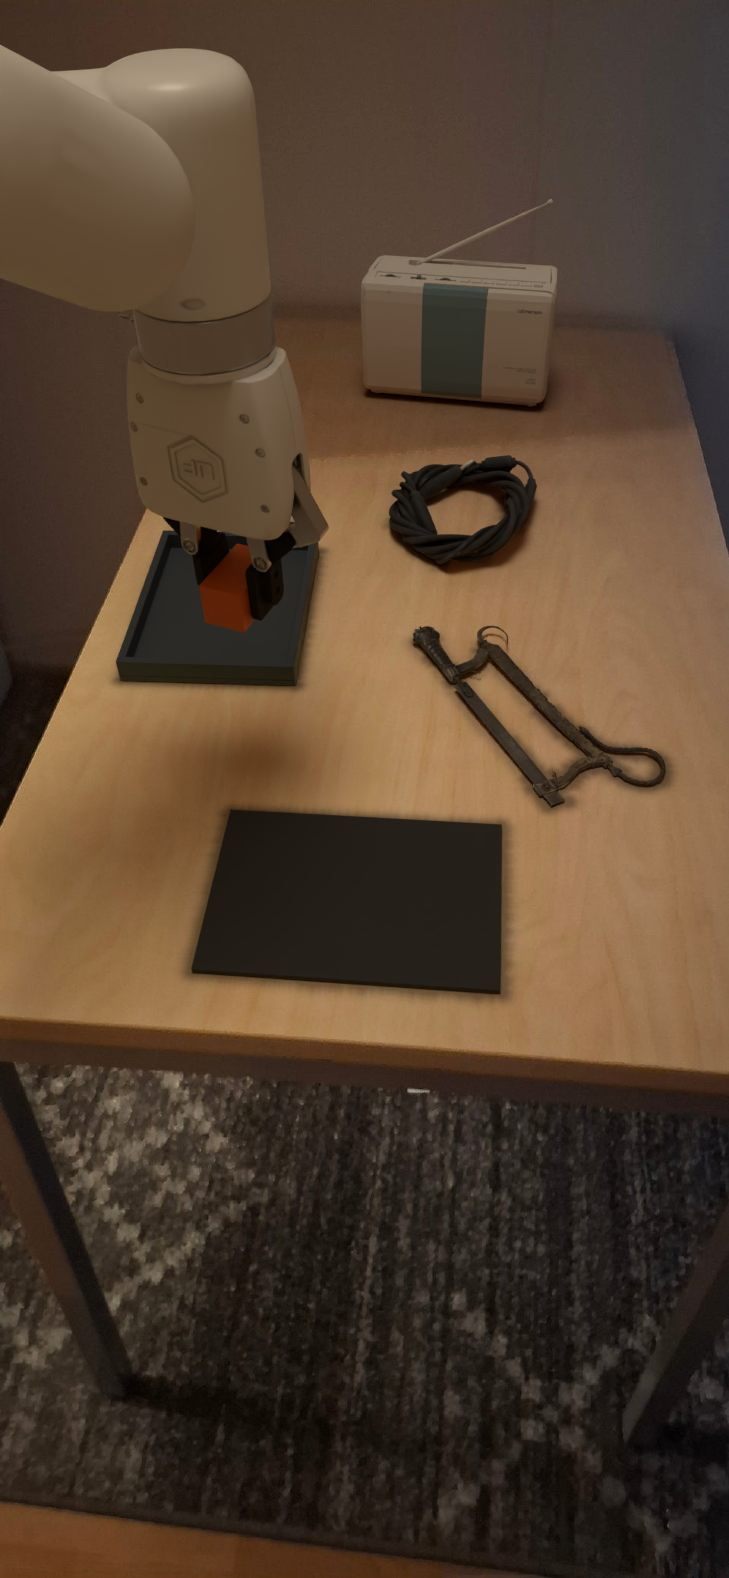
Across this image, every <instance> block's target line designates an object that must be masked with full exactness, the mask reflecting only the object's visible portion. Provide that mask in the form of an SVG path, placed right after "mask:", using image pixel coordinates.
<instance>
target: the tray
mask: <svg viewBox="0 0 729 1578" xmlns="http://www.w3.org/2000/svg"><path fill="white" fill-rule="evenodd" d="M217 532H221V533H225V536H226V538H227V540H228V547H229V552H230V551H231V550H232V548H233V547H234V546H235V545H236V544H241V545H245V546H248V543H247V539H246V537H243V536H239V535H234V534H230V533H226V532H222V531H217ZM319 545H320V544H319V542H317V543H314V544H310V545H307V546H303V547H300V548H299V547H297V548H293V549H292V550H291V551H290V552H288V553H287V554H286V555H285V556H283V557H282V558H281V563H282V574H283V584H284V593H283V597H282V599H281V600H280V602H279V603H278V604H277V605H274V606H273V607H272V609H271V610H270V611H269V612H268V614H267V615H266V616H265V617H264V618H263V620H262V621H260V620H256V619H255V620H254V621H253V622H252V624H251V625H250V626H249V627H248V629H247V630H246V631H245V632H240V631H236V630H232V629H229V628H225V627H221V626H217V625H214V624H210V623H206V622H205V618H204V612H203V606H202V601H201V595H200V590H199V585H198V584H197V581H196V575H195V569H194V563H193V557H192V554H189V553H187V552H186V551H185V550H184V549H183V547H182V544H181V537H180V536H179V535H178V534H177V533H176V532H175V531H174V530H170V529H169V530H168V529H167V530H164V529H163V530H162V532H161V535H160V538H159V540H158V543H157V546H156V548H155V552H154V554H153V557H152V560H151V563H150V566H149V568H148V571H147V574H146V576H145V579H144V582H143V584H142V587H141V590H140V594H139V596H138V598H137V602H136V603H135V607H134V610H133V613H132V616H131V618H130V621H129V624H128V626H127V629H126V632H125V635H124V638H123V640H122V643H121V646H120V649H119V652H118V654H117V656H116V660H115V664H116V669H117V672H118V676H119V679H120V681H121V682H122V681H123V682H127V681H128V682H153V683H156V682H158V683H159V682H160V683H191V684H225V685H227V684H229V685H254V686H255V685H257V686H258V685H260V686H293V687H294V686H296V685H297V679H298V674H299V669H300V663H301V657H302V651H303V644H304V639H305V633H306V628H307V622H308V617H309V610H310V606H311V600H312V593H313V588H314V582H315V576H316V571H317V566H318V561H319V555H320V546H319Z"/></svg>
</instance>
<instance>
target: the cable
mask: <svg viewBox="0 0 729 1578" xmlns="http://www.w3.org/2000/svg"><path fill="white" fill-rule="evenodd" d="M517 466H520V467H522V468H523V469H524V470H525V472H526V474H527V477H528V479H527V480H526V484H525V485H524V483H523V481H522V480H521V478H520V477H518V476H517V475H515V474H514V473H512V472H511V471H513V469H514V468H516V467H517ZM400 476H401V477H402V478H403V479H404V481H400V482H399V484H398V485H399V488H400V489H393V490H392V491H391V496H392V497H394V498H395V499H397V500H395V501H394V502H393V503H392V504H391V505H390V506H389V509H388V515H389V520H388V524H389V526H390V528H391V529H392V530H393V531H395V532H397V533H399V534H401V538H402V541H403V542H405V543H407V544H410V545H411V547H412V548H413V549H414V550H415V551H417V552H419V553H422V554H423V555H424V556H426V557H427V558H429V559H433V560H434V561H435V563H436V564H438V565H443V564H445V563H447V562H449V561H450V560H452V561H455V562H461V563H475V562H480V561H483V560H486V559H488V558H490V557H492V556H494V555H495V554H497V553H498V552H500V551H502V549H503V548H505V547H506V546H507V545H508V544H509V543H510V541H511V540H512V539H513V538H514V536H515V535H516V534H517V533H518V532H519V530H520V529H522V528H523V527H524V525H525V523H526V522H527V520H528V518H529V515H530V511H531V509H532V505H533V501H534V499H535V495H536V492H537V488H538V485H537V482H536V479H535V478H534V475H533V472H532V471H531V468H530V467H529V466H528V465H527V464H526V463H525V462H523V461H521V460H517V459H516V457H512V455H510V454H507V455H497V456H489V457H486V458H485V459H484V460H481V461H480V462H477V461H476V459H474V458H472V459H469V460H468V461H466V462H465V463H464V464H459V463H451V464H450V463H449V464H442V463H441V464H439V463H432V464H427V465H424V466H423V467H421V468H420V469H418V470H415V471H412V472H411V473H408V472H407V471H404V470H403V471H402V472H401V474H400ZM469 483H477V484H479V485H481V486H484V487H488V488H499V489H500V490H502V491H503V492H504V505H503V507H504V512H505V516H504V517H502V519H500V520H499V521H498V522H497V523H496V524H491V525H486V526H485V527H482V528H480V529H478V530H477V531H476V532H474V533H473V534H472V535H470V534H458V533H457V534H456V533H440V534H439V533H438V530H437V528H436V524H435V523H434V520H433V518H432V515H431V513H430V511H429V508H428V505H427V502H426V500H428V499H430V498H432V497H435V496H436V495H439V494H440V493H441V492H442V491H443V490H444V489H446V488H448V487H450V486H459V485H464V484H469Z"/></svg>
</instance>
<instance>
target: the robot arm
mask: <svg viewBox="0 0 729 1578" xmlns="http://www.w3.org/2000/svg"><path fill="white" fill-rule="evenodd" d="M255 100H256V99H255V92H254V89H253V85H252V83H251V80H250V78H249V76H248V73H247V71H246V70H245V68H244V67H243V66H242V65H241V64H240V63H239V62H237V60H236V59H234V58H232V57H231V56H230V55H229V56H228V55H226V54H223V53H221V52H217V51H214V50H208V49H203V48H190V47H189V48H188V47H185V48H183V47H182V48H179V47H178V48H163V49H162V48H161V49H154V50H147V51H141V52H137V53H132V54H130V55H127V56H124V57H122V58H120V59H117V60H115V61H113V62H111V63H110V64H109V65H107V66H104V67H99V68H89V69H88V68H87V69H71V70H54V71H51V70H49V69H46V68H45V67H43V66H41V65H40V64H38V63H36V62H34V61H32V60H30V59H28V58H27V57H24V56H23V55H21V54H19V53H17V52H15V51H13V50H11V49H9V48H8V47H5V46H3V45H1V44H0V279H1V280H4V281H7V282H9V283H13V284H15V285H19V286H21V287H23V288H27V289H30V290H32V291H36V292H39V293H42V294H43V295H47V296H49V297H52V298H55V299H58V300H60V301H64V302H67V303H69V304H71V305H76V306H78V307H80V308H82V307H83V308H85V309H89V310H92V311H96V312H105V313H107V312H111V313H113V312H116V313H118V315H119V317H120V318H122V319H127V320H130V321H131V322H132V323H133V324H134V329H135V335H136V341H137V344H136V345H134V346H133V347H132V348H131V349H130V350H129V351H128V355H127V370H126V371H127V372H126V409H127V425H128V433H129V434H128V435H129V442H130V451H131V459H132V465H133V471H134V477H135V483H136V487H137V488H136V490H135V495H136V498H137V499H138V500H139V501H140V502H141V503H142V505H143V506H144V507H145V508H146V509H147V510H149V511H150V512H152V513H153V514H155V515H157V516H160V517H162V518H163V520H164V521H165V522H166V524H167V525H168V526H169V527H170V528H171V530H172V531H175V532H176V533H177V534H178V535H179V536H180V537H181V544H182V547H183V549H184V550H185V551H186V552H187V553H189V554H192V557H193V563H194V569H195V575H196V581H197V584H198V585H200V584H201V583H202V582H203V581H204V580H205V579H206V577H207V576H208V575H209V574H210V573H211V572H212V571H213V570H214V569H215V567H216V566H217V565H218V564H219V563H220V562H221V561H222V560H223V559H224V557H225V556H226V555H227V554H228V553H229V547H228V540H227V538H226V536H225V533H221V532H217V531H222V532H226V533H230V534H234V535H239V536H243V537H246V539H247V543H248V548H249V552H250V557H251V561H252V563H251V564H250V566H249V567H248V568H247V569H246V573H245V575H246V583H247V587H248V594H249V602H250V610H251V616H252V617H253V619H256V620H260V621H262V620H263V618H264V617H265V616H266V615H267V614H268V612H269V611H270V610H271V609H272V607H273V606H274V605H277V604H278V603H279V602H280V600H281V599H282V597H283V593H284V584H283V574H282V563H281V558H282V557H283V556H285V555H286V554H287V553H288V552H290V551H291V550H292V549H293V548H297V547H299V548H300V547H303V546H307V545H310V544H314V543H317V542H318V543H319V542H320V541H321V540H322V538H323V537H324V536H325V535H326V534H327V532H328V531H329V523H328V522H327V520H326V518H325V516H324V514H323V512H322V511H321V509H320V506H319V505H318V503H317V501H316V500H315V498H314V496H313V494H312V488H311V487H312V486H311V485H312V483H311V469H310V468H311V467H310V466H311V465H310V458H309V449H308V441H307V435H306V428H305V423H304V418H303V412H302V407H301V402H300V397H299V393H298V388H297V386H296V385H297V384H296V381H295V378H294V374H293V370H292V367H291V364H290V361H289V357H288V355H287V351H286V350H285V349H283V348H281V347H278V346H277V340H276V329H275V320H274V318H275V317H274V306H273V295H272V286H271V284H272V283H271V272H270V262H269V261H270V260H269V250H268V249H269V248H268V237H267V227H266V226H267V225H266V213H265V202H264V189H263V178H262V166H261V165H262V164H261V155H260V141H259V130H258V129H259V128H258V119H257V108H256V107H257V106H256V101H255ZM292 519H294V521H295V522H290V521H291V520H292ZM199 590H200V589H199Z"/></svg>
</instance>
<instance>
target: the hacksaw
mask: <svg viewBox="0 0 729 1578" xmlns="http://www.w3.org/2000/svg"><path fill="white" fill-rule="evenodd" d="M493 628H494V629H497V630H500V631H501V632H503V633H504V634H505V638H506V646H508V645H509V636H508V633H506V631H505V630H504V629H502V628H501V627H500V626H496V625H486V626H482V627H481V628H480V629H479V630H478V631H477V633H476V638H477V641H478V642H479V646H480V647H479V648H477V650H476V654H474V657H473V658H471V659H470V660H467V661H464V662H462V663H459V664H455V663H453V661H452V659H451V658H450V656H449V654H448V653H447V652H446V651H445V649H444V648H443V646H442V645H441V643H440V638H441V633H440V632H439V631H437V630H436V629H435V627H432V626H429V625H426V626H421V625H420V626H418V628H415V629H414V630H413V631H414V632H413V633H412V642H413V643H414V644H416V645H419V646H420V647H421V649H423V650H424V652H425V653H427V655H428V656H429V657H430V659H431V660H432V661H433V662H434V664H436V666H438V668H439V670H440V671H441V672H442V674H443V675H444V676H445V677H446V679H448V681H449V682H450V683H453V684H454V685H453V687H454V688H455V690H456V691H457V692H458V693H459V695H460V696H462V698H463V700H464V701H465V702H466V703H467V704H468V706H469V707H470V708H471V709H472V710H473V712H474V713H475V714H476V715H477V717H478V718H479V719H480V721H481V722H482V723H483V724H484V725H485V727H487V729H488V730H489V732H491V734H492V735H493V737H494V738H495V739H496V740H497V741H498V742H499V744H500V745H501V746H502V747H503V749H505V751H506V752H507V753H508V754H509V756H510V758H512V759H513V761H514V762H515V763H516V764H517V765H518V766H519V768H520V769H521V771H522V772H524V774H525V775H526V776H527V778H528V779H529V780H530V781H531V783H532V788H533V789H534V791H535V792H536V794H537V795H538V796H539V797H540V798H541V797H543V798H545V800H546V801H547V802H548V803H549V805H550V806H554V805H557V804H561V803H564V802H565V801H566V800H565V798H564V797H563V796H562V795H561V793H560V792H559V790H561V789H564V788H566V787H567V785H569V784H570V783H571V781H572V780H573V779H574V778H575V777H576V776H577V775H578V774H579V773H580V772H582V771H583V770H587V769H589V768H592V769H595V768H598V767H604V769H608V770H610V772H611V774H612V776H614V777H616V776H619V777H620V778H621V779H622V780H624V781H625V782H627V783H630V784H633V785H636V786H645V787H648V786H653V785H655V784H657V783H659V782H661V781H662V779H663V778H664V777H665V775H666V772H667V769H666V768H667V767H666V764H665V763H666V762H665V760H664V758H663V757H662V756H661V754H659V753H658V752H657V751H656V750H653V749H652V748H648V747H641V746H640V747H639V746H637V747H636V746H635V747H621V746H620V747H616V746H614V747H613V746H610V745H609V746H608V745H606V744H605V743H603V742H601V741H600V740H598V739H597V738H596V737H595V736H594V735H592V734H591V732H590V731H589V730H588V729H587V728H586V727H585V726H580V725H579V726H578V728H577V727H576V726H575V725H574V724H573V723H572V722H571V721H570V720H569V719H568V718H567V717H565V716H562V712H560V711H558V709H557V707H556V706H555V705H553V703H552V702H551V701H549V700H548V698H547V696H546V695H544V693H542V692H541V689H540V688H538V687H536V686H535V684H534V682H533V681H532V680H530V678H529V677H528V676H527V675H526V674H525V673H524V672H523V670H522V669H521V668H520V667H519V666H518V665H517V664H516V663H515V662H514V660H513V659H512V658H511V657H510V656H509V655H508V653H506V651H504V649H503V648H502V647H501V646H500V645H499V644H495V643H491V642H489V641H488V640H487V639H484V637H483V633H484V632H485V631H486V630H488V629H493ZM489 658H490V659H491V660H492V661H493V662H494V663H495V664H496V665H497V666H498V667H499V668H500V669H501V670H502V671H503V672H504V674H505V675H506V676H508V678H510V680H511V681H512V682H513V683H514V684H515V685H516V686H517V687H518V689H519V690H521V692H522V693H523V694H524V695H526V697H527V698H528V699H530V701H531V702H532V703H533V704H534V705H535V707H537V708H538V710H539V711H540V712H542V714H543V715H544V716H545V717H546V718H547V719H549V720H550V722H551V723H553V725H555V726H556V728H557V729H558V730H559V731H561V732H562V734H563V735H564V736H565V737H566V738H567V739H569V740H570V742H573V743H574V744H575V746H576V747H577V748H579V749H581V750H582V751H583V752H584V754H585V755H586V757H582V758H580V759H578V760H576V761H575V762H574V763H573V764H571V765H570V766H569V767H568V768H567V771H566V772H565V773H564V774H563V775H560V776H557V772H555V771H551V773H552V775H553V777H552V778H551V779H548V778H547V777H546V776H545V774H544V773H543V772H542V771H541V770H540V768H539V767H538V766H537V765H536V764H535V762H534V761H533V760H532V759H531V757H530V756H529V755H528V754H527V752H526V751H525V750H524V749H523V748H522V747H521V745H520V744H519V743H518V742H517V741H516V740H515V738H514V737H513V736H512V734H511V733H510V732H509V731H508V730H507V729H506V727H505V726H504V725H503V724H502V722H500V720H499V719H498V718H497V717H496V715H495V714H494V713H493V712H492V711H491V710H490V708H489V707H488V706H487V705H486V703H485V702H484V701H483V700H482V698H481V697H480V696H479V695H478V694H477V692H476V691H475V690H474V689H473V688H472V687H471V685H470V684H469V683H468V682H467V680H466V681H462V677H463V675H466V674H467V673H470V672H473V673H476V674H478V675H480V674H481V671H476V669H478V668H480V667H481V666H482V665H483V664H485V663H486V662H487V661H488V659H489ZM516 686H515V687H516ZM594 744H595V745H596V746H597V747H596V746H595V745H594ZM598 747H599V748H598ZM600 748H601V749H602V750H603V751H602V750H601V749H600ZM604 751H608V752H613V753H627V754H628V753H630V754H631V753H647V754H650V755H652V756H653V757H654V758H655V759H656V760H657V761H658V762H659V765H660V772H659V774H658V775H657V776H656V777H655V778H653V779H649V780H639V779H636V778H633V777H630V776H628V775H627V774H626V773H623V771H624V770H622V769H621V768H619V767H616V766H615V765H613V763H614V760H613V759H612V758H611V757H610V756H608V754H605V753H604Z"/></svg>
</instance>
